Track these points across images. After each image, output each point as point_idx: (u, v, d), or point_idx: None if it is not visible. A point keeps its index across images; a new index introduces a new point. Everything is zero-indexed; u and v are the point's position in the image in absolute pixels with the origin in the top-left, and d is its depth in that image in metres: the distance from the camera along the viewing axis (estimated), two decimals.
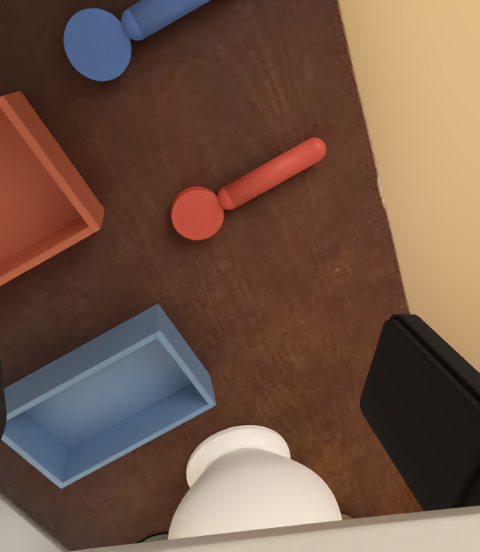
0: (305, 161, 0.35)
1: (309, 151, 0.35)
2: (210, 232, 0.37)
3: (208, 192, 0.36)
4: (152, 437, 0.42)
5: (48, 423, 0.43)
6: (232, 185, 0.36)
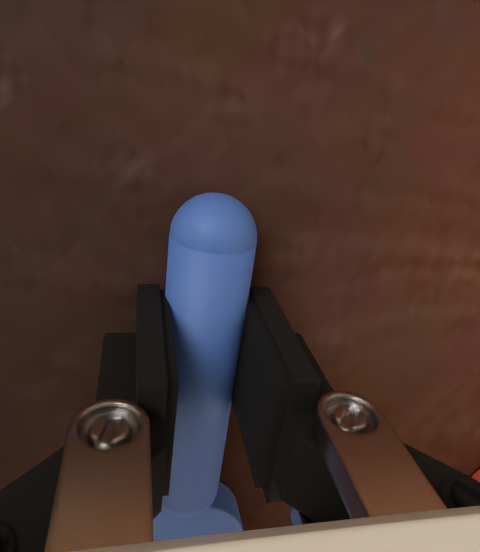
0: None
1: None
2: None
3: None
4: None
5: None
6: None
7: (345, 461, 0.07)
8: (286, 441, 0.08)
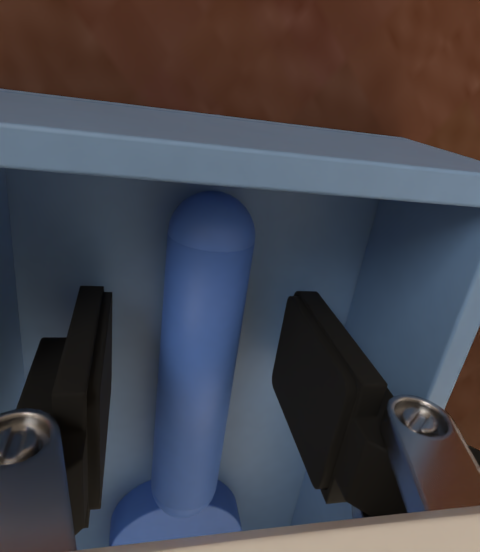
0: None
1: None
2: None
3: None
4: None
5: None
6: None
7: (407, 456, 0.07)
8: (352, 444, 0.08)
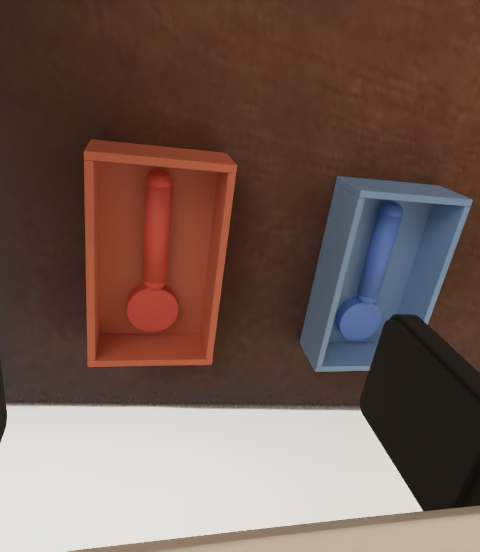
0: (161, 203, 0.33)
1: (154, 194, 0.32)
2: (174, 309, 0.38)
3: (138, 292, 0.37)
4: (443, 275, 0.39)
5: None
6: (143, 272, 0.36)
7: None
8: None
